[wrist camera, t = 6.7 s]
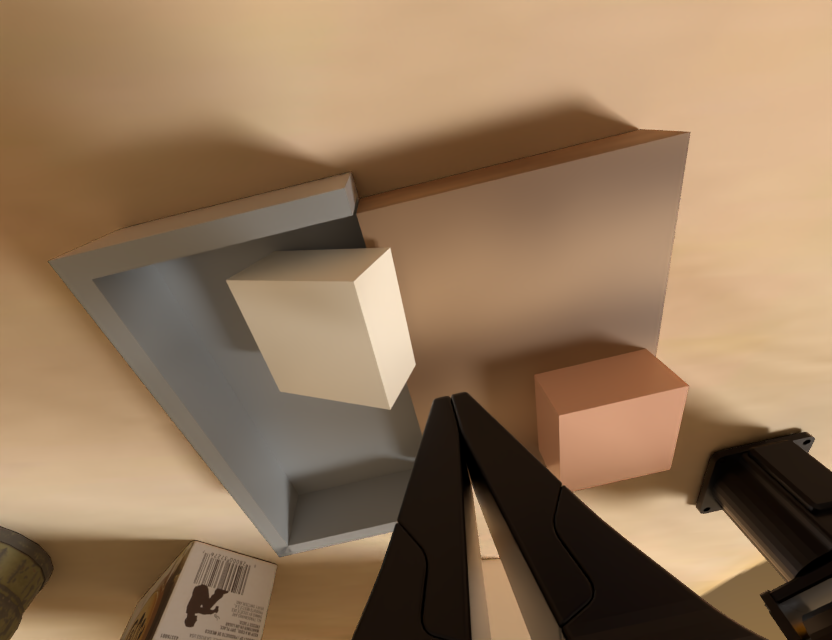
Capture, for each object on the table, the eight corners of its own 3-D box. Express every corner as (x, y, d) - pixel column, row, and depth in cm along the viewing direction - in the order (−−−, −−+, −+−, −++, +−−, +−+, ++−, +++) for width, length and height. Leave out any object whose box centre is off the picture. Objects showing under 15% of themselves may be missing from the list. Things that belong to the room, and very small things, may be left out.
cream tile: (416, 364, 15) (390, 409, 13) (315, 354, 16) (280, 391, 15) (390, 247, 12) (353, 281, 10) (274, 251, 14) (225, 280, 12)
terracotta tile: (635, 427, 18) (670, 469, 16) (538, 449, 18) (560, 494, 16) (646, 348, 16) (689, 385, 14) (534, 374, 16) (559, 415, 14)
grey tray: (435, 464, 22) (445, 519, 19) (292, 496, 22) (279, 557, 19) (351, 171, 13) (344, 187, 10) (120, 228, 14) (47, 261, 11)
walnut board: (615, 411, 21) (642, 445, 19) (432, 453, 21) (438, 491, 19) (640, 129, 14) (690, 131, 12) (359, 198, 14) (356, 214, 12)
